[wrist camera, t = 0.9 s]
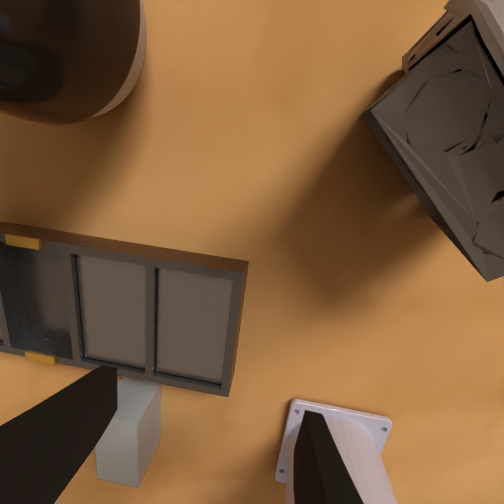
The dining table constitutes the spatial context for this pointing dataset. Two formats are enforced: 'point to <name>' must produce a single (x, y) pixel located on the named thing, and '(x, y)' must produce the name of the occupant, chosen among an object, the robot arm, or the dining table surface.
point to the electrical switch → (453, 128)
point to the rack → (121, 307)
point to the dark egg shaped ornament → (68, 57)
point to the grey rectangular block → (130, 433)
